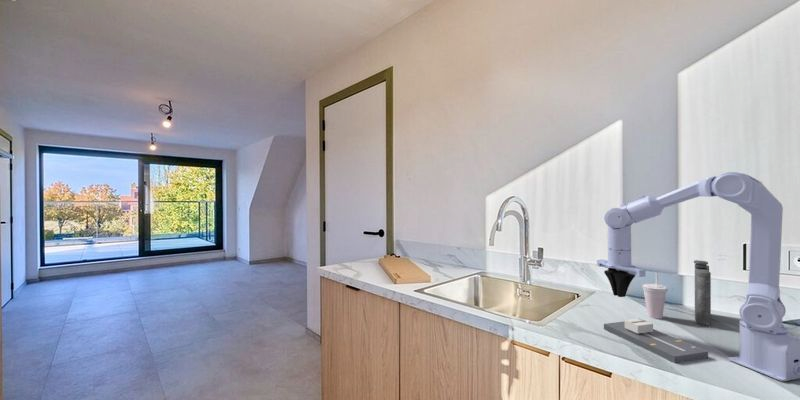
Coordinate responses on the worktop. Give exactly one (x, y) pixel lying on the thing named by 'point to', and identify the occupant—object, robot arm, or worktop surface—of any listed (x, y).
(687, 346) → the console
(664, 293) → the smoothie
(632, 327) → the fader knob
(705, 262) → the flask
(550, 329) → the worktop surface
